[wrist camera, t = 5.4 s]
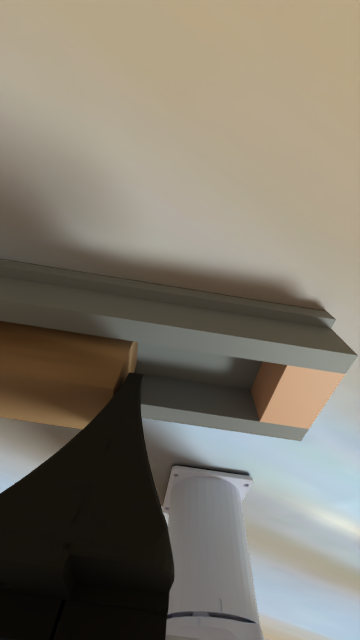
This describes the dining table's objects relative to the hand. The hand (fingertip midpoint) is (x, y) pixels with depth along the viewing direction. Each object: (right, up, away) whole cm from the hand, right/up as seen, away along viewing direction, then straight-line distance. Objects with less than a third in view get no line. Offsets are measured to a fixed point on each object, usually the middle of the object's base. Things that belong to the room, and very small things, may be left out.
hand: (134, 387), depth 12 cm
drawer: (-4, +2, +3) cm, 6 cm away
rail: (0, +2, +4) cm, 4 cm away
